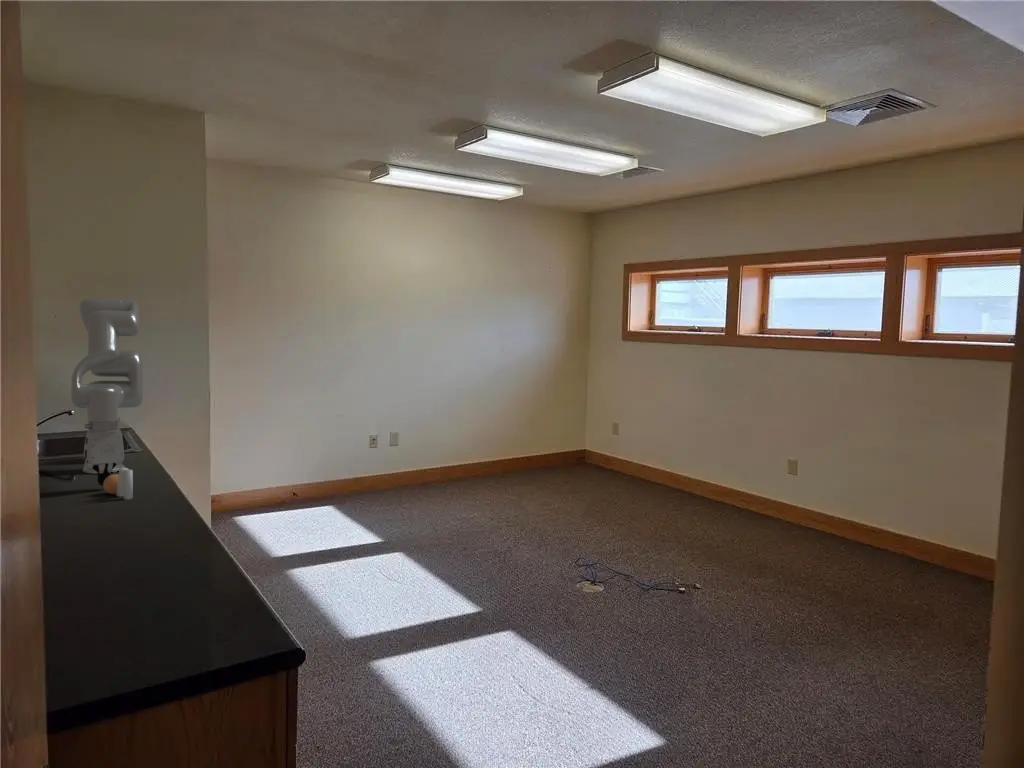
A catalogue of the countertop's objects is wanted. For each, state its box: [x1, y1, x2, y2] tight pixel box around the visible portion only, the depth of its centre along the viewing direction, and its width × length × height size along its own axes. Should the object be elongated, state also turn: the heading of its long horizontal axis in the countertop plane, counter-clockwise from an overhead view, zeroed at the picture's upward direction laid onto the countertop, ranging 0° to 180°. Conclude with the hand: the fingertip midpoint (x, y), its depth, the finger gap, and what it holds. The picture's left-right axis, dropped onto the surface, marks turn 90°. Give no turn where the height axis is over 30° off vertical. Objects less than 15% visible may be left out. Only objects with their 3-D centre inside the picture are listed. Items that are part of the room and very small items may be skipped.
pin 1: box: [115, 467, 130, 498], centre depth 200 cm, size 2×2×8 cm
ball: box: [102, 473, 119, 495], centre depth 203 cm, size 6×6×6 cm
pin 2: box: [123, 469, 134, 501], centre depth 198 cm, size 2×2×8 cm
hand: (103, 484), depth 207 cm, fingers closed
